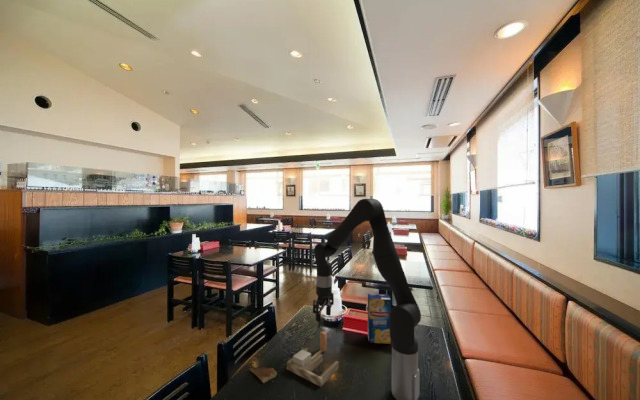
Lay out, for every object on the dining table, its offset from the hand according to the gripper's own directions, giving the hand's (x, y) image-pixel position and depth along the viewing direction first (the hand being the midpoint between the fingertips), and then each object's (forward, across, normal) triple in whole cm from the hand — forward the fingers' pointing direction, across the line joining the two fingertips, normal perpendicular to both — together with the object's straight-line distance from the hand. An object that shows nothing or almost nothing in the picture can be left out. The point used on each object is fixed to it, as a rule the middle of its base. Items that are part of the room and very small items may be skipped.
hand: (323, 318), depth 120 cm
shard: (+16, -30, +10) cm, 35 cm away
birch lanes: (+15, -14, -4) cm, 21 cm away
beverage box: (+15, +24, -18) cm, 34 cm away
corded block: (+15, -9, 0) cm, 17 cm away
